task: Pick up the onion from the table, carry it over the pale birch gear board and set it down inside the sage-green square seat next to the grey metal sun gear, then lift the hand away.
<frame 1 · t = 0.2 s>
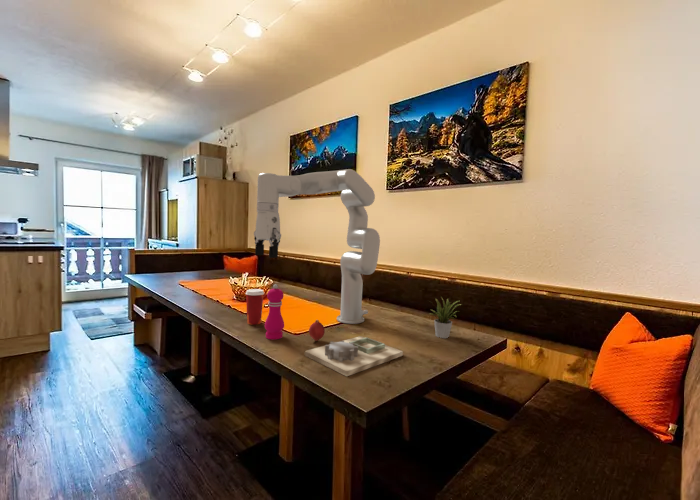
hand: (266, 256, 124), 31 cm above the table, tool pointing down, fingers open, 9 cm apart
pepper mill: (274, 337, 129), on the table
paper cup: (253, 323, 146), on the table
onion: (316, 341, 127), on the table
gear board: (354, 355, 114), on the table
house plant: (445, 337, 139), on the table
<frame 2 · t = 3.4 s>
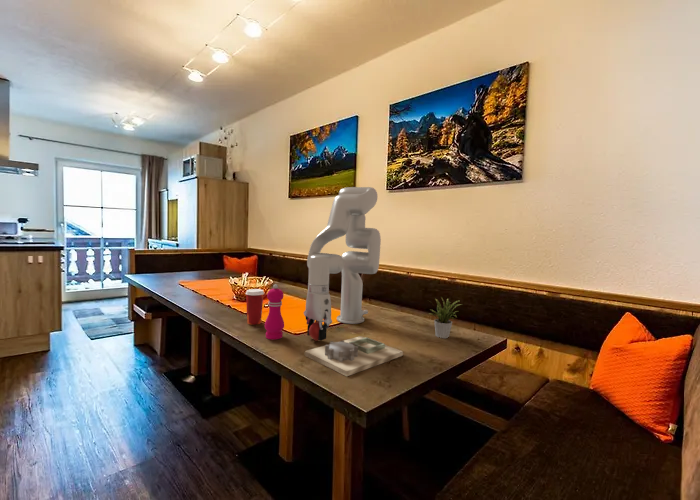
hand: (316, 336, 127), 2 cm above the table, tool pointing down, fingers closed on onion, 5 cm apart
onion: (316, 341, 127), on the table, touching gripper
everything else where it was.
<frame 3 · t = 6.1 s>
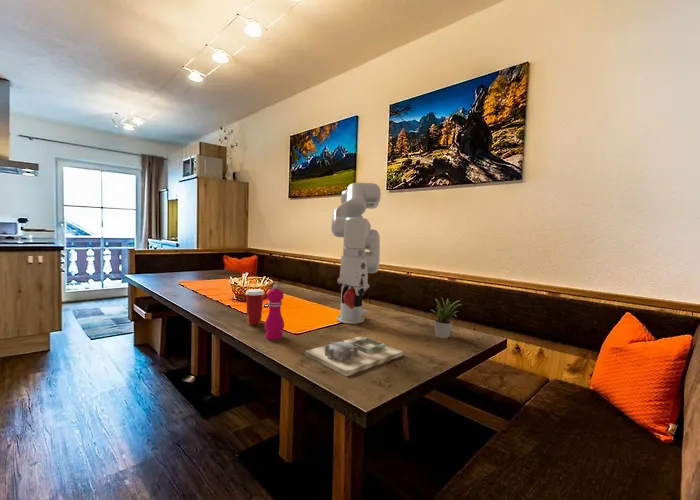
hand: (351, 304, 120), 16 cm above the table, tool pointing down, fingers closed on onion, 5 cm apart
onion: (351, 309, 120), point 14 cm above the table, touching gripper
everything else where it was.
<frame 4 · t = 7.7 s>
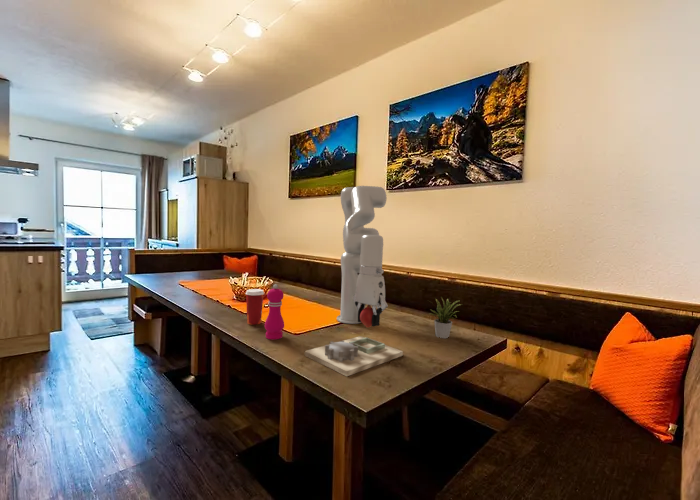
hand: (368, 323, 117), 10 cm above the table, tool pointing down, fingers closed on onion, 5 cm apart
onion: (367, 328, 117), point 8 cm above the table, touching gripper
everything else where it was.
when the fingers open (4 cm above the table, at t = 9.1 s): onion drops 1 cm, resting on gear board.
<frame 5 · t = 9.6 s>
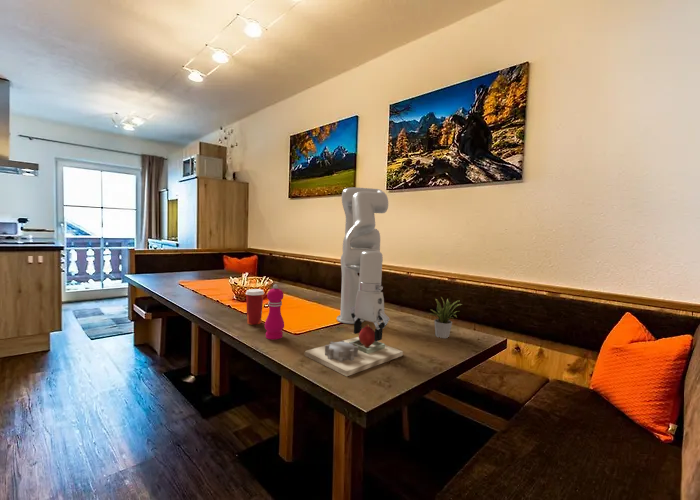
hand: (367, 336, 118), 5 cm above the table, tool pointing down, fingers open, 9 cm apart
onion: (366, 347, 118), point 1 cm above the table, touching gear board
everything else where it was.
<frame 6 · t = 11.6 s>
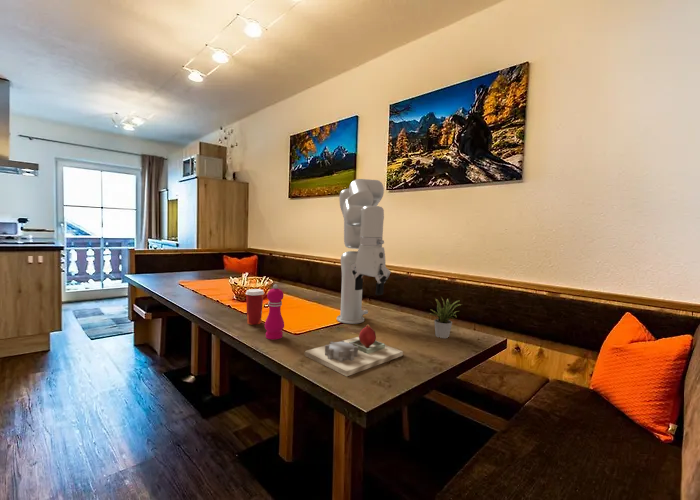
hand: (368, 292, 118), 20 cm above the table, tool pointing down, fingers open, 9 cm apart
nothing on the table moved.
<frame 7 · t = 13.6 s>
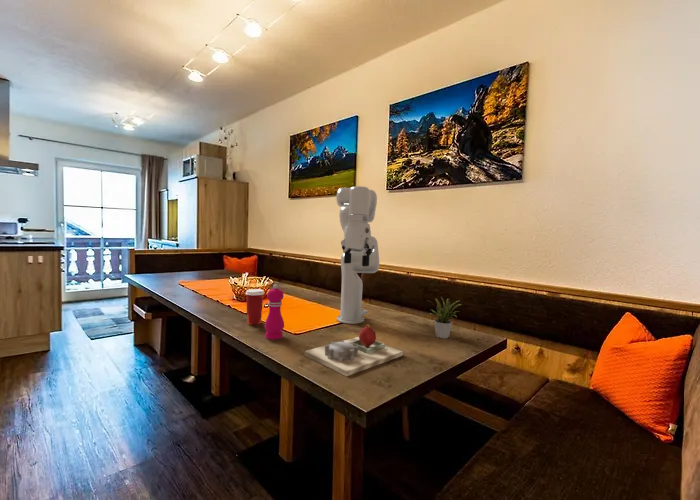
hand: (356, 264, 131), 28 cm above the table, tool pointing down, fingers open, 9 cm apart
nothing on the table moved.
at the end: onion 0.1 cm from the target spot on the gear board, point 1.3 cm above the gear board's base; the gripper is holding nothing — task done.
